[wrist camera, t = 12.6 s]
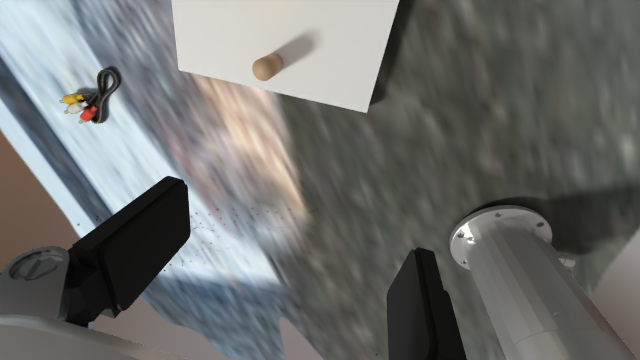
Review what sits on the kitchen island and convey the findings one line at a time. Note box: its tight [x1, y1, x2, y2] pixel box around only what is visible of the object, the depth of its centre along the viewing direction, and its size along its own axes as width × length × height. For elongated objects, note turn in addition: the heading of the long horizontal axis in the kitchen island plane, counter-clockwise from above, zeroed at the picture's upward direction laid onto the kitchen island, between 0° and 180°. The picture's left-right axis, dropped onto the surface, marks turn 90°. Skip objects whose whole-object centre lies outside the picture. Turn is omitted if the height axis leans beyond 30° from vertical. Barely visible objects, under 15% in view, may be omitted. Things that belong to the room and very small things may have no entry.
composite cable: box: [59, 68, 119, 124], centre depth 35 cm, size 10×5×2 cm, turn 119°
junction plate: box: [172, 0, 399, 113], centre depth 25 cm, size 22×16×6 cm
